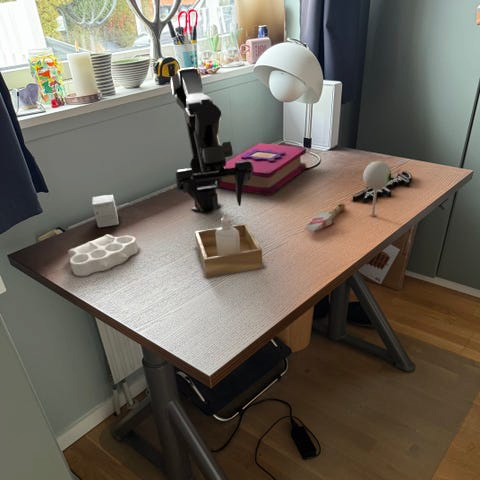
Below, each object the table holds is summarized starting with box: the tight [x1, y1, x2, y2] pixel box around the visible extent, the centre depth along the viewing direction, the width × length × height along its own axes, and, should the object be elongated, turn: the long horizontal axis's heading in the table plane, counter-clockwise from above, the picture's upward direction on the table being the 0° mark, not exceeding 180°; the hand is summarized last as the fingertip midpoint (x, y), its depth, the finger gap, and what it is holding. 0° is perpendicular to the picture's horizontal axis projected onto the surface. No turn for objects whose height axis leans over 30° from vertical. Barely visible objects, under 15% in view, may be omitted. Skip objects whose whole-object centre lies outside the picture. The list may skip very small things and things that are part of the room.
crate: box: [194, 222, 264, 278], centre depth 115 cm, size 16×14×5 cm
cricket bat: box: [303, 202, 346, 232], centre depth 129 cm, size 4×3×20 cm
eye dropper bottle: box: [215, 212, 241, 256], centre depth 112 cm, size 4×6×12 cm
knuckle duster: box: [67, 234, 139, 277], centre depth 120 cm, size 3×18×15 cm
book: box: [219, 142, 307, 196], centre depth 160 cm, size 21×28×8 cm
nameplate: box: [352, 170, 413, 204], centre depth 145 cm, size 28×2×10 cm
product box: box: [91, 194, 119, 229], centre depth 137 cm, size 6×6×7 cm
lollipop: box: [362, 160, 392, 217], centre depth 126 cm, size 7×7×15 cm
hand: (221, 207), depth 113 cm, fingers open, 9 cm apart
